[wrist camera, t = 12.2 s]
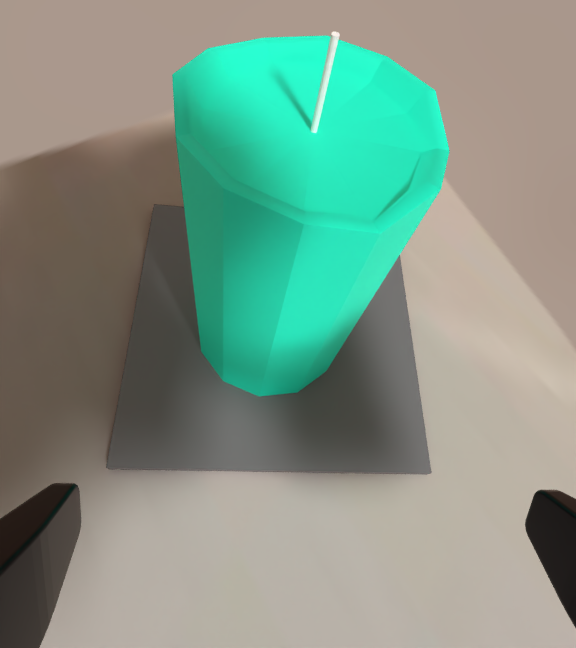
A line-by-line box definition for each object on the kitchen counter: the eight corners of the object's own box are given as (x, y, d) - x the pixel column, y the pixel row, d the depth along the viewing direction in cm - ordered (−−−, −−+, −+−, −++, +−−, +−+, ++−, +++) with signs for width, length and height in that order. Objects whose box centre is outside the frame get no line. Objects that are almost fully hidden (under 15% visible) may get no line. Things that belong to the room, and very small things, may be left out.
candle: (183, 384, 16) (109, 111, 6) (212, 259, 19) (200, -82, 9) (333, 407, 17) (520, 192, 6) (341, 282, 20) (481, -17, 9)
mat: (427, 474, 17) (431, 473, 16) (108, 469, 15) (106, 467, 15) (392, 231, 22) (395, 226, 22) (155, 210, 21) (154, 204, 20)
